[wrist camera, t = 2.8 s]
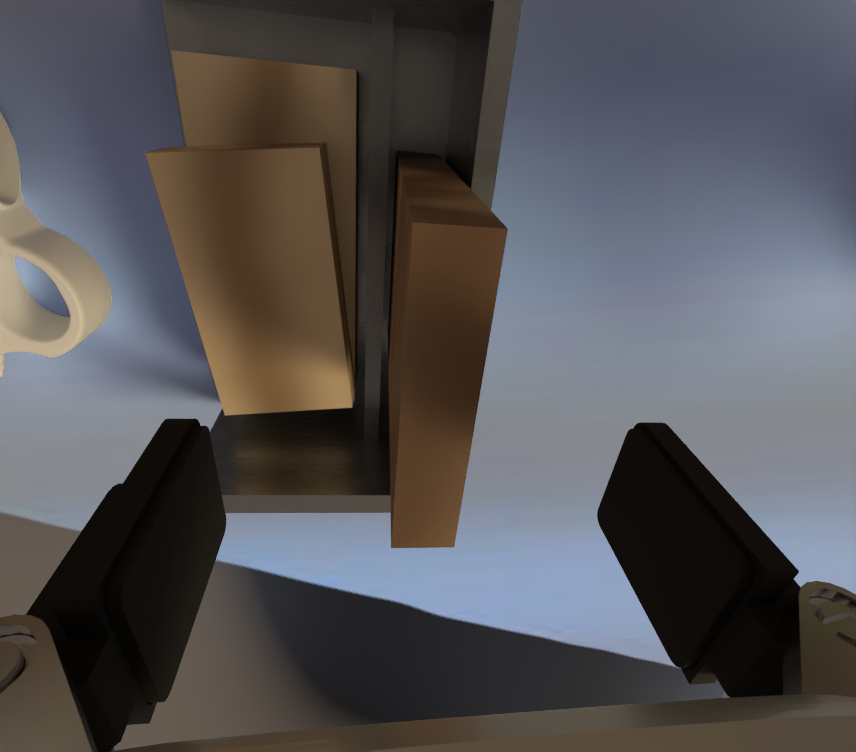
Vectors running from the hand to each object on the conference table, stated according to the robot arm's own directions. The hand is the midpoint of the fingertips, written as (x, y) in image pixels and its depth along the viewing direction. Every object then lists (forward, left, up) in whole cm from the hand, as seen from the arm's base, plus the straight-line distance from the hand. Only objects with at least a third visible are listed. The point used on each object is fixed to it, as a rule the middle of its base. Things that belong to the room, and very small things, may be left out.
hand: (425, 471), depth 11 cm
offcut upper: (+6, +1, -14) cm, 16 cm away
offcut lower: (+6, 0, -17) cm, 18 cm away
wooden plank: (0, 0, -17) cm, 17 cm away
